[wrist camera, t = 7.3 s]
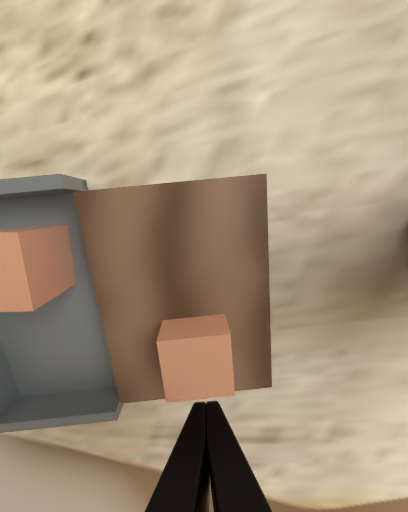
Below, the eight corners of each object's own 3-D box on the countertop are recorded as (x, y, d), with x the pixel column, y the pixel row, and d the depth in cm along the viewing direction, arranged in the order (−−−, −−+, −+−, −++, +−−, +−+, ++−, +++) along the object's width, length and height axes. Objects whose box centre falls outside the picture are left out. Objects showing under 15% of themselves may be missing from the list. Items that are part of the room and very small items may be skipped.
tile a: (17, 232, 11) (-33, 232, 11) (33, 311, 12) (-12, 312, 12) (67, 225, 16) (32, 225, 15) (76, 283, 17) (43, 284, 16)
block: (224, 313, 15) (230, 334, 13) (229, 367, 16) (234, 395, 14) (162, 320, 15) (156, 341, 13) (170, 373, 16) (166, 402, 14)
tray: (85, 180, 15) (60, 173, 12) (129, 388, 19) (117, 419, 17) (-56, 193, 15) (-115, 190, 12) (18, 399, 19) (-14, 434, 16)
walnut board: (255, 178, 16) (266, 173, 13) (262, 364, 19) (271, 387, 17) (92, 194, 16) (73, 191, 13) (129, 378, 19) (120, 403, 17)
